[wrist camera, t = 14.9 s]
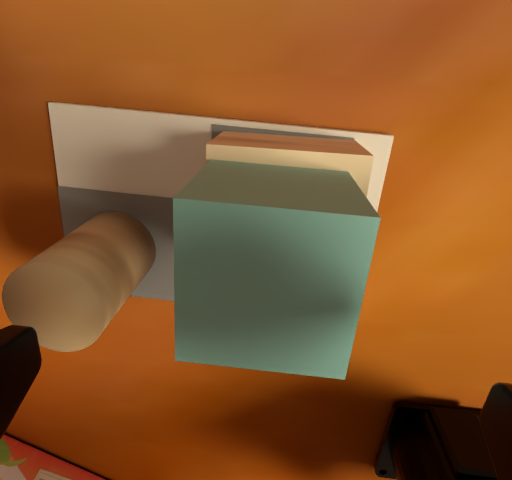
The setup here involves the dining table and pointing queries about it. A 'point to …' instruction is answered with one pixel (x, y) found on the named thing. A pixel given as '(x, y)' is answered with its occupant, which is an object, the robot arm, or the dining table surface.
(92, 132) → the cream grey flat board
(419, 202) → the dining table surface
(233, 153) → the maple base block
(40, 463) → the cracker box
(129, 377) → the dining table surface
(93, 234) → the oak dowel
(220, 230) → the teal cube
